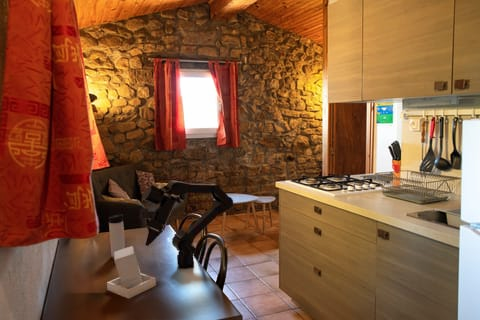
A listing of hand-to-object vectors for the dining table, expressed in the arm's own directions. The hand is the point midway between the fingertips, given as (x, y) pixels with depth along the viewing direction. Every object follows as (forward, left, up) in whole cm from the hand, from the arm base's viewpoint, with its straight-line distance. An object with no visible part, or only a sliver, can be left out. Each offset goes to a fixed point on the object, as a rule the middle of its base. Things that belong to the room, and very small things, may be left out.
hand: (147, 244), depth 153 cm
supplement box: (+5, +10, -11) cm, 16 cm away
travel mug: (+17, -25, -13) cm, 33 cm away
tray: (+5, +11, -13) cm, 18 cm away
